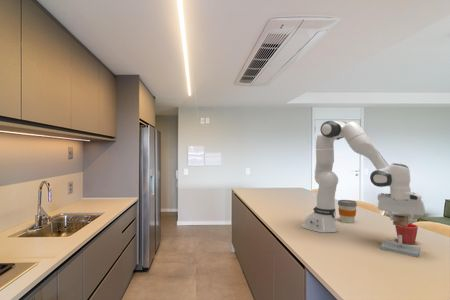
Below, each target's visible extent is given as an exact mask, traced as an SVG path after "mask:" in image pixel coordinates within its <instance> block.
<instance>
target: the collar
mask: <svg viewBox="0 0 450 300" xmlns="http://www.w3.org/2000/svg"><path fill="white" fill-rule="evenodd" d="M392 216H393V220H392V225H394V226H395V225H400V226H408V223H409V222H408V218H409V215H400V214H394V215H392Z"/></svg>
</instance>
